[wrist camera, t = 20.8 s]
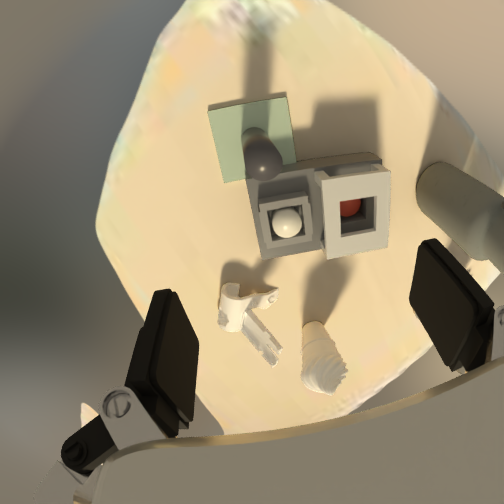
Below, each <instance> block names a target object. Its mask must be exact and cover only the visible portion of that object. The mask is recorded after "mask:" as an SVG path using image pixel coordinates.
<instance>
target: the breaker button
mask: <svg viewBox="0 0 504 504" xmlns="http://www.w3.org/2000/svg"><path fill="white" fill-rule="evenodd" d="M360 205H361V200H360V198H359V199H353V200H347V201H340V215H341V216H345V217H348V216H352V215H354V214H355V213H356V212H357V211H358V210H359V208H360Z"/></svg>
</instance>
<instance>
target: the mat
mask: <svg viewBox="0 0 504 504" xmlns="http://www.w3.org/2000/svg"><path fill="white" fill-rule="evenodd" d="M208 116H209V121H210V125H211V129H212V133H213V138H214V142H215V146H216V151H217V155H218V159H219V163H220V168H221V172H222V176H223V180H224V183H228V182H232V181H237V180H242V179H245V172H247V171H246V168H245V163H244V156H243V150H242V143H241V137H242V134H243V133H244V131H245V130H247V129H248V128H251V127H258V128H261V129H262V130H264V131H265V133H266V134H267V135H268V137H269V138H270V140H271V141H272V143H273V144H274V145H275V147H276V148H277V150H278V151H279V153H280V154H281V156H282V160H283V165H286V164H292V163H297V162H296V155H295V148H294V141H293V135H292V128H291V122H290V116H289V110H288V104H287V98H286V97H282V98H275V99H269V100H262V101H256V102H251V103H245V104H240V105H235V106H230V107H225V108H220V109H216V110H211V111H208Z"/></svg>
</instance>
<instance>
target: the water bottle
mask: <svg viewBox="0 0 504 504" xmlns="http://www.w3.org/2000/svg"><path fill="white" fill-rule="evenodd" d="M416 199H417V203H418V206H419V208H420V209H421V211H422V212H423V213H424V214H425V215H426V216H427V217H429V218H430V219H431V220H432V221H433V222H434V223H435V224H436V225H437V226H439V227H440V228H441V229H442V230H443V231H444V232H445V233H446V234H447V235H448V236H449V237H450V238H451V239H452V240H453V241H454V242H456V243H457V244H458V245H459V246H460V247H461V248H462V249H463V250H464V251H465V252H466V253H467V254H468V255H469V256H470V257H471V258H473V259H475V260H478V261H483V260H488V259H489V260H490V261H491V262H492V263H493V265H494V266H495V267H496V268H497V269H498V270H499V271H500V272H501V273H502V274H503V275H504V197H503V196H501V195H500V194H498V193H497V192H495V191H494V190H492V189H491V188H489V187H487V186H486V185H484V184H483V183H481V182H479V181H478V180H476V179H475V178H473V177H471V176H469V175H468V174H466V173H464V172H463V171H461V170H459V169H457V168H455V167H454V166H452V165H450V164H448V163H443V162H440V163H435V164H433V165H431V166H430V167H428V168H427V169H426V170H425V171H424V172H423V174H422V175H421V177H420V179H419V181H418V184H417V189H416Z"/></svg>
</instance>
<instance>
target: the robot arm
mask: <svg viewBox="0 0 504 504" xmlns="http://www.w3.org/2000/svg"><path fill="white" fill-rule="evenodd" d="M409 301H410V305H411V306H412V308H413V312H414V314H415V316H416V317H417V318H418V319H419V320H420V321H421V323H422V325H423V326H424V328H425V330H426V331H427V333H428V335H429V337H430V338H431V340H432V342H433V344H434V345H435V347H436V349H437V351H438V353H439V355H440V356H441V358H442V360H443V362H444V364H445V365H446V366H449V367H450V369H451V371H452V372H453V371H455V370H456V371H457V372H458V373H460V374H462V375H461V376H459V377H456V378H454V379H452V380H450V381H447V382H445V383H443V384H440V385H438V386H436V387H433V388H430V389H428V390H426V391H423V392H420V393H418V394H415V395H412V396H409V397H407V398H404V399H401V400H398V401H395V402H392V403H389V404H386V405H383V406H379V407H376V408H373V409H369V410H366V411H362V412H359V413H355V414H351V415H347V416H343V417H339V418H335V419H330V420H326V421H321V422H316V423H311V424H306V425H301V426H295V427H290V428H283V429H277V430H270V431H262V432H253V433H243V434H233V435H221V436H205V437H186V438H178V437H177V435H178V431H179V429H188V428H189V422H191V421H193V416H194V402H195V389H196V377H197V365H198V355H199V341H198V338H197V336H196V334H195V332H194V330H193V327H192V325H191V323H190V321H189V319H188V317H187V315H186V312H185V310H184V308H183V306H182V304H181V301H180V299H179V297H178V295H177V293H176V292H172V291H171V289H163V290H157V291H155V292H154V294H153V297H152V300H151V303H150V307H149V310H148V313H147V316H146V320H145V323H144V327H142V328H141V329H140V331H139V334H138V338H137V341H136V344H135V348H134V351H133V355H132V359H131V362H130V366H129V370H128V374H127V377H126V381H125V386H117V387H113V388H112V389H109V390H108V391H107V392H106V393H105V394H104V395H103V396H102V398H101V400H100V403H99V413H100V414H99V415H98V416H97V417H95V418H94V419H93V420H92V421H90V422H89V423H88V424H86V425H85V426H84V427H82V428H81V429H80V430H78V431H77V432H76V433H74V434H73V435H72V436H70V437H69V438H68V439H67V440H66V441H65V442H64V444H63V446H62V450H61V458H62V460H61V462H59V461H57V462H56V463H55V464H54V466H53V467H52V468H51V470H50V471H49V472H48V474H47V475H46V477H45V478H44V479H43V480H42V482H41V483H40V485H39V486H38V487H37V489H36V491H35V493H34V502H35V504H504V305H503V306H500V307H498V308H497V309H496V311H495V310H494V308H493V306H494V302H493V301H492V300H491V299H490V298H489V296H488V295H487V294H486V293H485V291H484V290H483V289H482V288H481V286H480V285H479V284H478V283H477V282H476V281H475V279H474V278H473V277H472V276H471V275H470V274H469V273H468V272H467V270H466V269H465V268H464V267H463V266H462V265H461V264H460V263H459V262H458V261H457V259H456V258H455V257H454V256H453V255H452V254H451V253H450V252H449V251H448V250H447V249H446V248H445V247H444V246H443V245H442V244H441V243H440V242H439V241H438V240H437V239H435V238H433V239H429V240H424V241H422V243H421V245H420V246H419V247H418V251H417V258H416V264H415V270H414V275H413V281H412V286H411V291H410V295H409Z"/></svg>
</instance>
